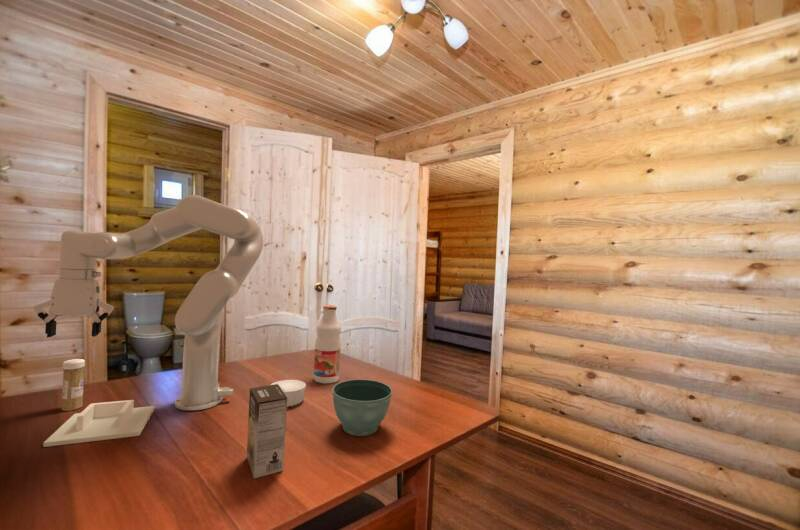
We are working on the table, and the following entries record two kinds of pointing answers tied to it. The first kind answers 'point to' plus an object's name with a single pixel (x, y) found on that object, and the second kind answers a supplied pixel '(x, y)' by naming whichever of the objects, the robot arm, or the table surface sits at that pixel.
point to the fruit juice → (327, 347)
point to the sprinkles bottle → (72, 384)
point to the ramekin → (292, 390)
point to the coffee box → (266, 430)
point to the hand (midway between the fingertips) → (73, 336)
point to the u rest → (102, 423)
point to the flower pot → (361, 405)
